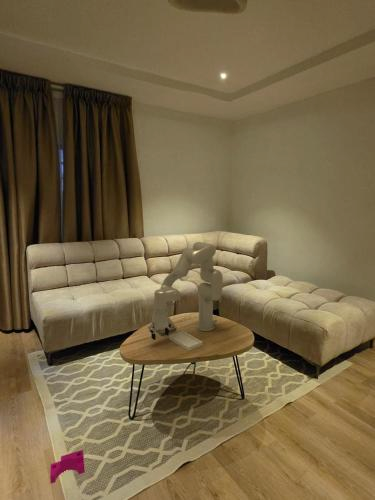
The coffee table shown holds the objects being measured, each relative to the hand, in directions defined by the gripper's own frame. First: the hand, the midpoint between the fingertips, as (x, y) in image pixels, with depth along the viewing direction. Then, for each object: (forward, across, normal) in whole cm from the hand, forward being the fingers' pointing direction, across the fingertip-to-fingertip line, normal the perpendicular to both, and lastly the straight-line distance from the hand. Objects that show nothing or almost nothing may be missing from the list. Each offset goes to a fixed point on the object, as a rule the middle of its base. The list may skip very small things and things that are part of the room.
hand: (160, 337), depth 181 cm
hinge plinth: (+4, -13, -13) cm, 19 cm away
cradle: (+4, -14, +8) cm, 16 cm away
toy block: (+47, +58, +5) cm, 75 cm away
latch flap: (+2, -13, -8) cm, 15 cm away
